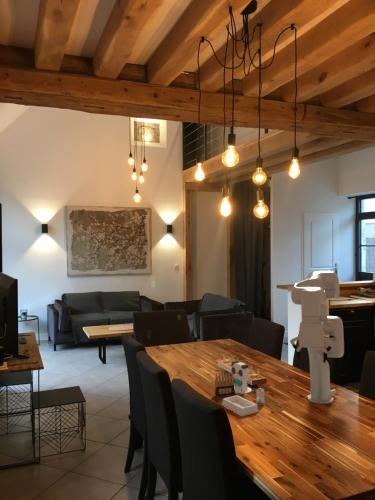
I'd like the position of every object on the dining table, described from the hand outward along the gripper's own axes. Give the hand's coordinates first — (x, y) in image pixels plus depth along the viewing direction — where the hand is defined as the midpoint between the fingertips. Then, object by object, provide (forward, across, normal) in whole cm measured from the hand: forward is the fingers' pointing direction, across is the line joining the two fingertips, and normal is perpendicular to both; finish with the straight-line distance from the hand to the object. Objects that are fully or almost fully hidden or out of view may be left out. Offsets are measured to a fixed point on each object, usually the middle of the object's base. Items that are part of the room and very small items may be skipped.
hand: (312, 361), depth 175 cm
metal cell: (+31, +28, -30) cm, 52 cm away
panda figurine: (+32, +42, -49) cm, 72 cm away
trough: (+31, +36, -22) cm, 53 cm away
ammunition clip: (+32, +48, -39) cm, 70 cm away
